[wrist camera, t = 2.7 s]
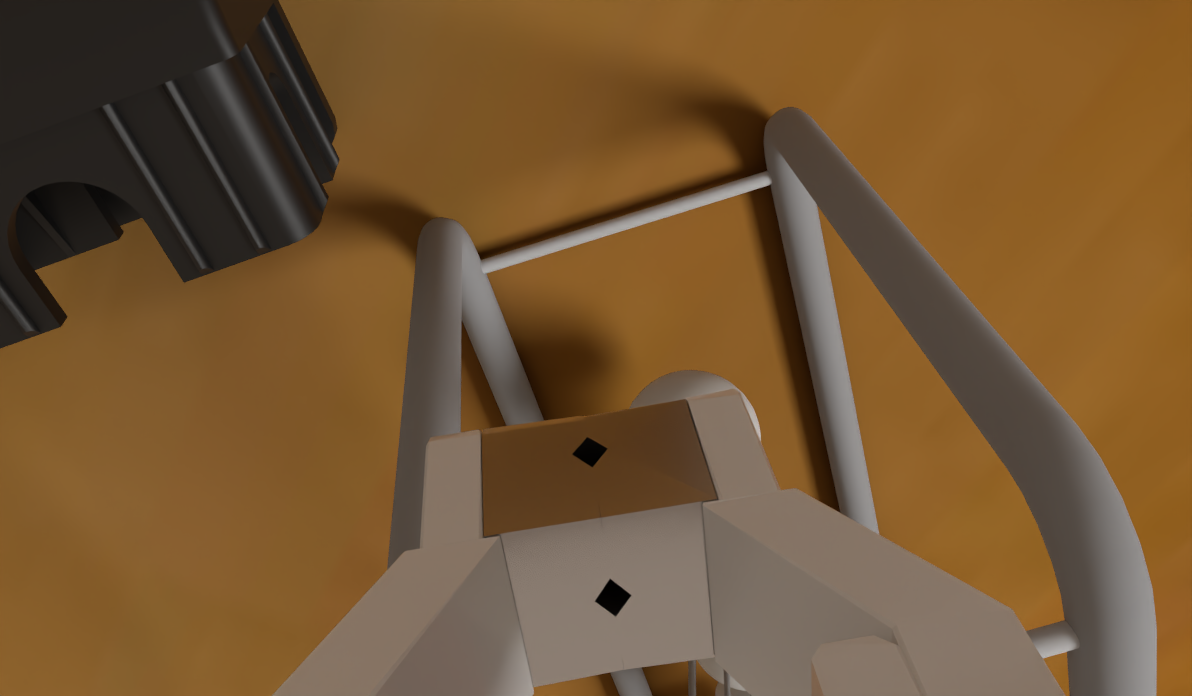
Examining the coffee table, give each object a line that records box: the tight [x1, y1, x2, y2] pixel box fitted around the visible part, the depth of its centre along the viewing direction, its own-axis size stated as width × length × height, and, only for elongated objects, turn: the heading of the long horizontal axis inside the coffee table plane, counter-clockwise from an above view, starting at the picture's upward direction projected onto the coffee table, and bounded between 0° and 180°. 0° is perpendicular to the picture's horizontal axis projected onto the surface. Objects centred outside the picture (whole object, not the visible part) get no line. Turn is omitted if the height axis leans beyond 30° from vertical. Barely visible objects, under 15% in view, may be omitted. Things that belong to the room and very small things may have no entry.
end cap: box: [0, 0, 339, 348], centre depth 23 cm, size 10×7×7 cm
